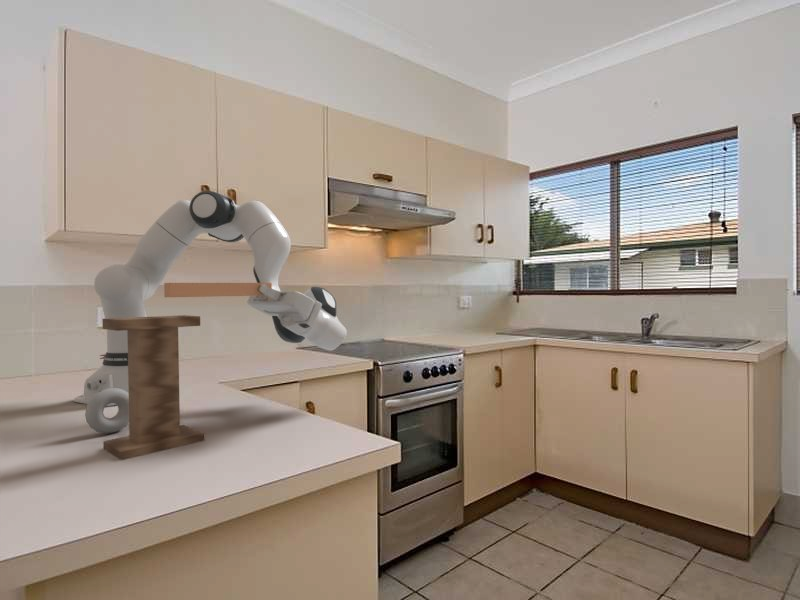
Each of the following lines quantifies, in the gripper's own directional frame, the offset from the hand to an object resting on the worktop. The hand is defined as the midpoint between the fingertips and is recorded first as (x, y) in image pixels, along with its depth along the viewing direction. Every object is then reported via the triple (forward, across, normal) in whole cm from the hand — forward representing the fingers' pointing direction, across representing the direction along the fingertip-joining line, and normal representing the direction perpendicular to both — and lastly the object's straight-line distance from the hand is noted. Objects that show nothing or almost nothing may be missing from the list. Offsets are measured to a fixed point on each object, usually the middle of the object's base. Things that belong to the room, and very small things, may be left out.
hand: (254, 287), depth 117 cm
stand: (+4, 0, +39) cm, 40 cm away
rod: (+6, 0, +6) cm, 8 cm away
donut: (+7, -16, +41) cm, 45 cm away
